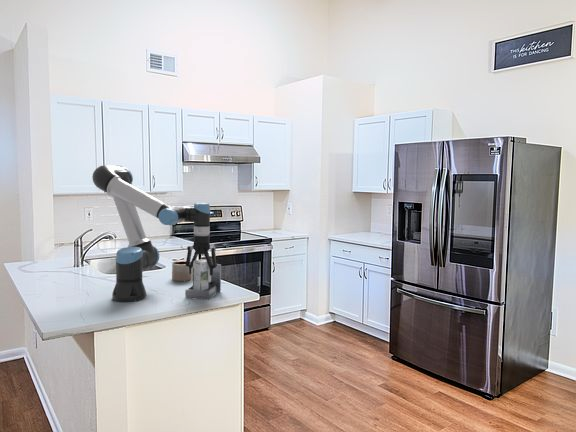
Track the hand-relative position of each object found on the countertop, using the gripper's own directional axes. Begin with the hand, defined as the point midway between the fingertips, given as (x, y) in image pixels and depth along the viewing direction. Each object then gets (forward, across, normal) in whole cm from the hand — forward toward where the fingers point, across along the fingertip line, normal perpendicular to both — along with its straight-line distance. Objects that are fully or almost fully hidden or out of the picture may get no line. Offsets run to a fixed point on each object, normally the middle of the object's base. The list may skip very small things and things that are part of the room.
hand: (201, 281), depth 222 cm
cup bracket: (+7, 0, +2) cm, 7 cm away
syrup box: (+4, 0, 0) cm, 4 cm away
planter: (+7, -21, +29) cm, 37 cm away
